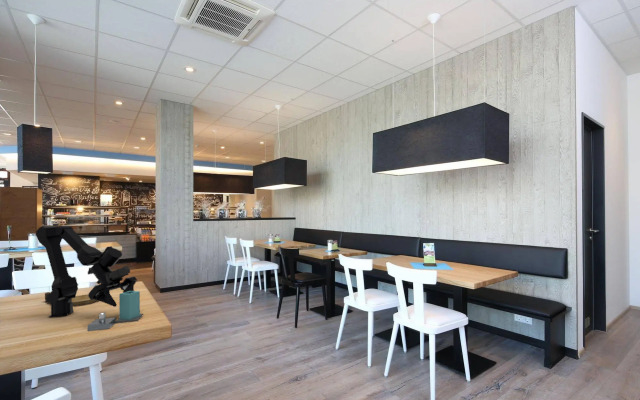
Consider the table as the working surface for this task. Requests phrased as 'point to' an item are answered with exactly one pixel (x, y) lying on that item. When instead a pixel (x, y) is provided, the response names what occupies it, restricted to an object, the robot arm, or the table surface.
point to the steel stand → (101, 323)
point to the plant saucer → (82, 300)
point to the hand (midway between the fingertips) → (125, 302)
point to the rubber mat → (128, 320)
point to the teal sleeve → (129, 305)
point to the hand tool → (46, 296)
